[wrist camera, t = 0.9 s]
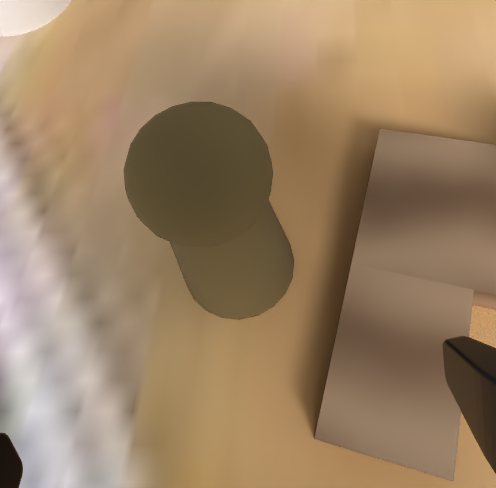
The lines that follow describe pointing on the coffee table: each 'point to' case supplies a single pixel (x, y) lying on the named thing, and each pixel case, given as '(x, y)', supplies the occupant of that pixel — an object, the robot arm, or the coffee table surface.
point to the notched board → (411, 299)
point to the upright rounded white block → (28, 15)
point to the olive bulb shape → (212, 205)
